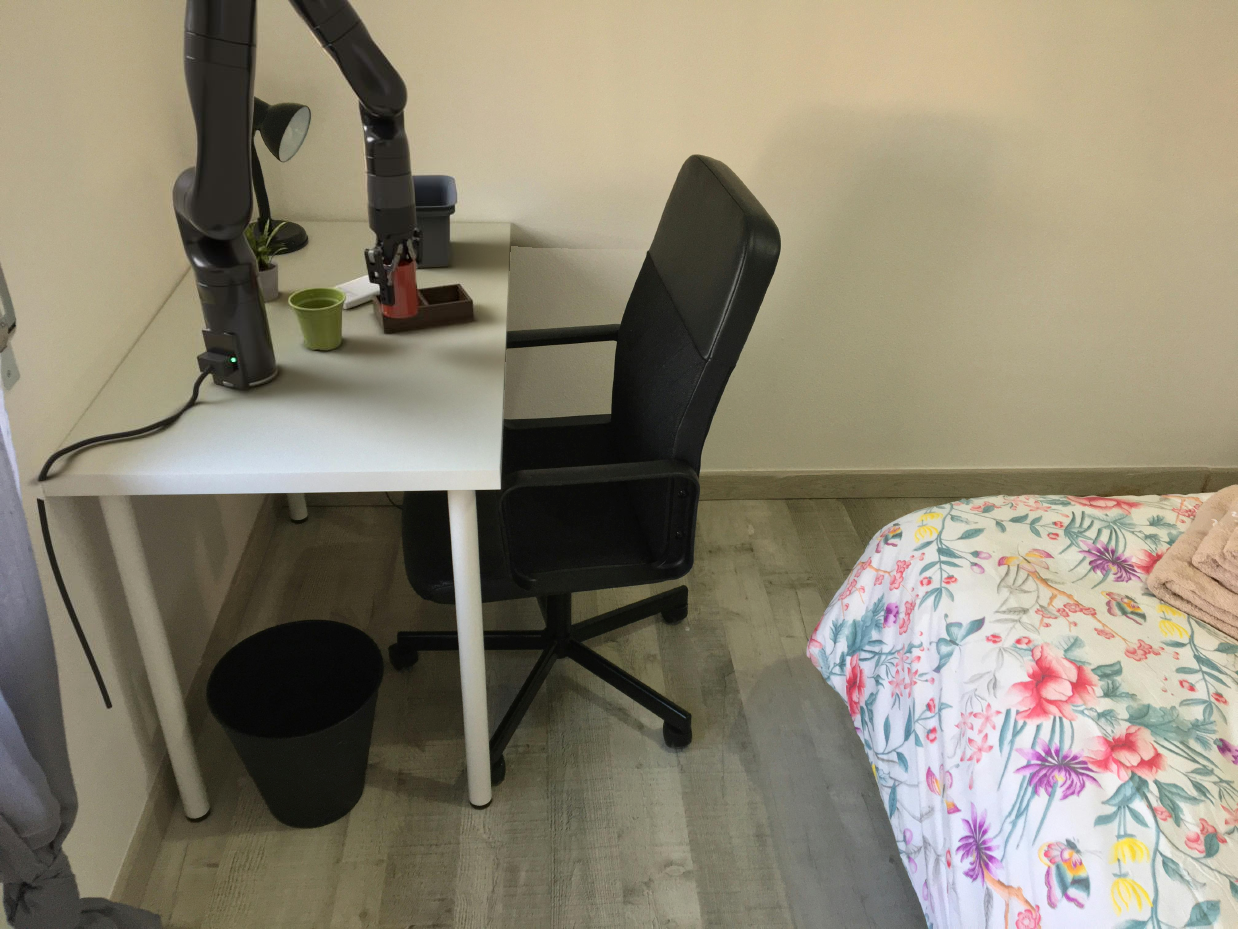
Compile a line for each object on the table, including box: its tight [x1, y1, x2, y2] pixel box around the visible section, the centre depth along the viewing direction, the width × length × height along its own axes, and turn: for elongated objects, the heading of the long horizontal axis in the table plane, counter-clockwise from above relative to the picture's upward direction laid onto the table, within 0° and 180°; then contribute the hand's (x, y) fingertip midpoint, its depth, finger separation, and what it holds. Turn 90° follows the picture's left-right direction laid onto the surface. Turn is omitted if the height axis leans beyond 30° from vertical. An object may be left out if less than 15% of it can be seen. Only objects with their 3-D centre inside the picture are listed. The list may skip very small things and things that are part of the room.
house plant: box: [244, 212, 289, 302], centre depth 171 cm, size 14×14×16 cm
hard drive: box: [332, 274, 380, 310], centre depth 178 cm, size 2×8×12 cm
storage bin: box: [412, 174, 458, 269], centre depth 194 cm, size 21×16×14 cm
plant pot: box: [288, 286, 346, 351], centre depth 157 cm, size 9×9×9 cm
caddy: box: [371, 283, 475, 334], centre depth 169 cm, size 9×17×4 cm, turn 115°
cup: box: [381, 258, 418, 318], centre depth 152 cm, size 6×6×9 cm
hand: (399, 297), depth 153 cm, fingers closed on cup, 6 cm apart
